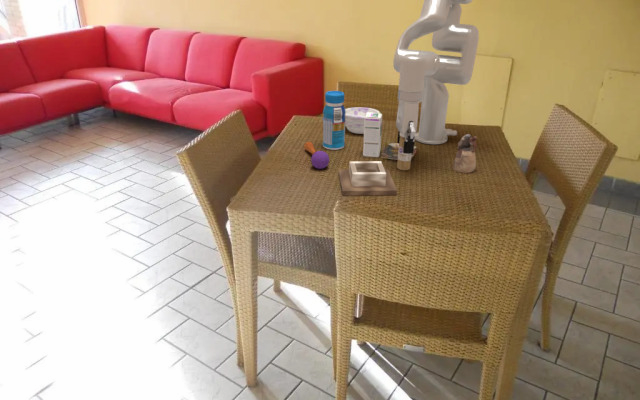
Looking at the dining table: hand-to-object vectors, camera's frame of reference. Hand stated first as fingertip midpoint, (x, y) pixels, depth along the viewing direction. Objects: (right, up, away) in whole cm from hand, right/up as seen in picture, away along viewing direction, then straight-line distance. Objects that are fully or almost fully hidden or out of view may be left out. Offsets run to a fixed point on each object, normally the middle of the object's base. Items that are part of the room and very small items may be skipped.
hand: (404, 148), depth 157 cm
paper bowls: (-11, +11, +38) cm, 41 cm away
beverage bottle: (-23, +3, +22) cm, 31 cm away
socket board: (-13, -12, -7) cm, 19 cm away
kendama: (-29, -3, +10) cm, 31 cm away
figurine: (+20, -7, +4) cm, 22 cm away
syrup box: (-9, -1, +15) cm, 18 cm away
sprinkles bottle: (0, -6, +4) cm, 8 cm away
